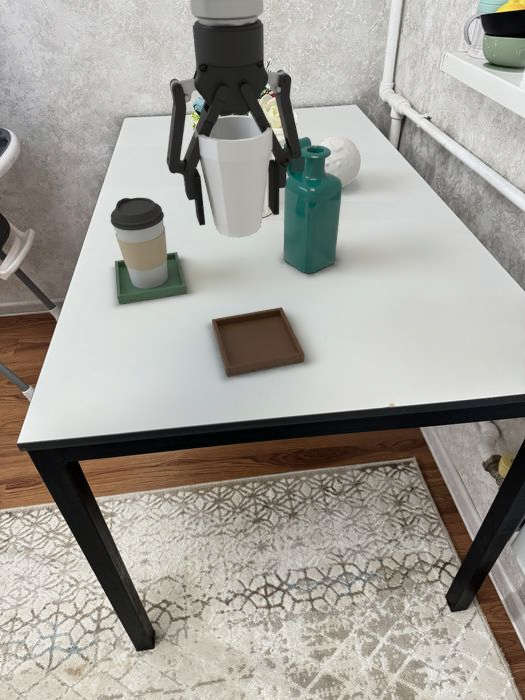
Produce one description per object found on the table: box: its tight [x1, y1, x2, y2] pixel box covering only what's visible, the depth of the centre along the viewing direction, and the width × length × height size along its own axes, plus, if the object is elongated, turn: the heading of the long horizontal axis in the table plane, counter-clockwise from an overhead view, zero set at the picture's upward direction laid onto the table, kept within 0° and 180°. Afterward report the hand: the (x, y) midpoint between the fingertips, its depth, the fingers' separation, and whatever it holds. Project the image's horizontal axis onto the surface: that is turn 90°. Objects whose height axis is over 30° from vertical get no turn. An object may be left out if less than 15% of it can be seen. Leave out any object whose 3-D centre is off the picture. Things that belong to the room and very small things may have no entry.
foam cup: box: [193, 114, 273, 238], centre depth 63 cm, size 10×9×13 cm
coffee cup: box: [110, 197, 168, 289], centre depth 88 cm, size 9×9×15 cm
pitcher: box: [283, 136, 343, 274], centre depth 90 cm, size 10×8×22 cm
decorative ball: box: [317, 135, 362, 189], centre depth 118 cm, size 12×12×12 cm
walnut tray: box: [211, 307, 305, 377], centre depth 79 cm, size 12×12×2 cm
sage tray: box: [114, 251, 188, 305], centre depth 93 cm, size 12×12×2 cm
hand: (237, 215), depth 66 cm, fingers closed on foam cup, 9 cm apart
